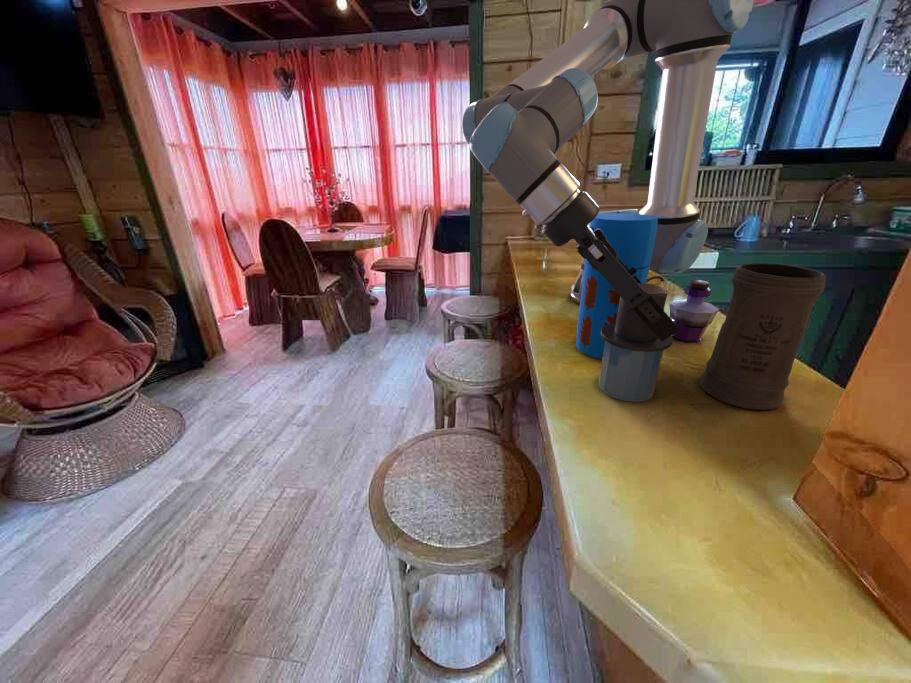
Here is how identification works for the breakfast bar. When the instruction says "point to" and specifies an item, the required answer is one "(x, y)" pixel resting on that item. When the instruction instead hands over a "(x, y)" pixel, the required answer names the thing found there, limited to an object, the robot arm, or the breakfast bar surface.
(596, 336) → the thermos
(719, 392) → the beer stein
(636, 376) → the cup
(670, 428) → the breakfast bar surface
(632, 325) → the dripper
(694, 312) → the potion bottle
